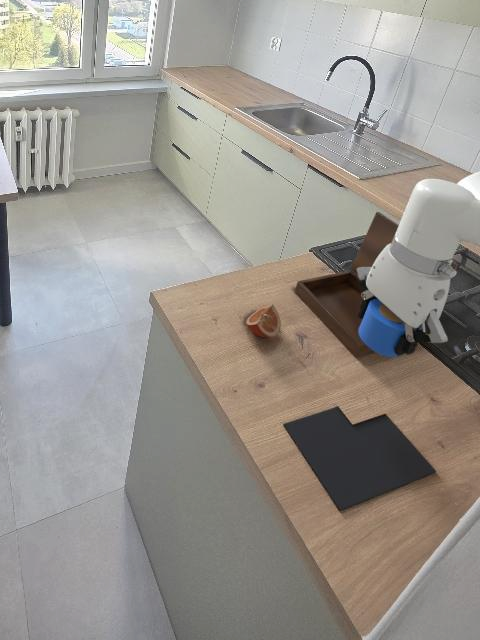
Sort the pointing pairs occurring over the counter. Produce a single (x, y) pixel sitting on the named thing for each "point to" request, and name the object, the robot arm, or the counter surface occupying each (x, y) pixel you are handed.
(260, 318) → the fruit slice
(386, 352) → the tape roll
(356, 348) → the chest
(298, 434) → the mat
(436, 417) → the counter surface
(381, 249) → the lid
